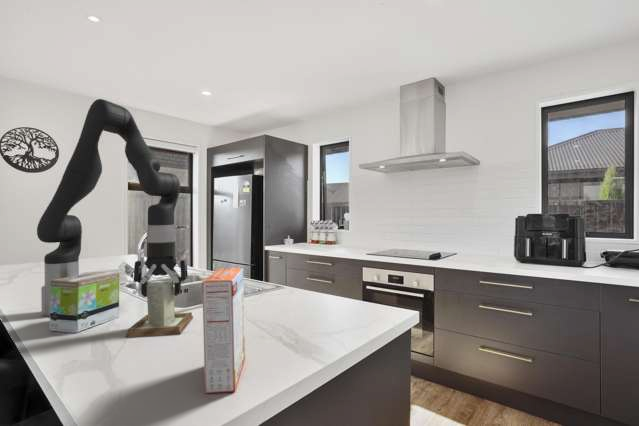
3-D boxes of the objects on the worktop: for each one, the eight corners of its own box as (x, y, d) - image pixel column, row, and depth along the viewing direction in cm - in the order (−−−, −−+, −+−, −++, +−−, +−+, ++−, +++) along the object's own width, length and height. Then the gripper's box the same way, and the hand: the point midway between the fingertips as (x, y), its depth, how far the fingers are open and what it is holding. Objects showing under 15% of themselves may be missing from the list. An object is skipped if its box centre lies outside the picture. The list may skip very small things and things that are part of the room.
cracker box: (218, 361, 74) (217, 267, 74) (246, 359, 75) (245, 267, 75) (201, 395, 60) (200, 280, 60) (235, 393, 61) (234, 279, 61)
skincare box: (175, 322, 98) (174, 281, 98) (163, 327, 94) (163, 284, 94) (158, 320, 100) (158, 280, 100) (146, 325, 96) (146, 283, 96)
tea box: (78, 333, 93) (77, 280, 93) (48, 331, 95) (48, 279, 95) (120, 317, 107) (120, 271, 107) (94, 315, 109) (94, 270, 109)
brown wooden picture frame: (126, 337, 89) (126, 329, 89) (146, 320, 103) (146, 314, 103) (180, 334, 91) (180, 326, 91) (193, 318, 105) (192, 312, 105)
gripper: (189, 239, 102) (189, 291, 102) (140, 239, 100) (140, 293, 100) (183, 241, 94) (183, 298, 94) (129, 241, 93) (129, 299, 93)
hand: (161, 295), depth 97 cm, fingers open, 8 cm apart
